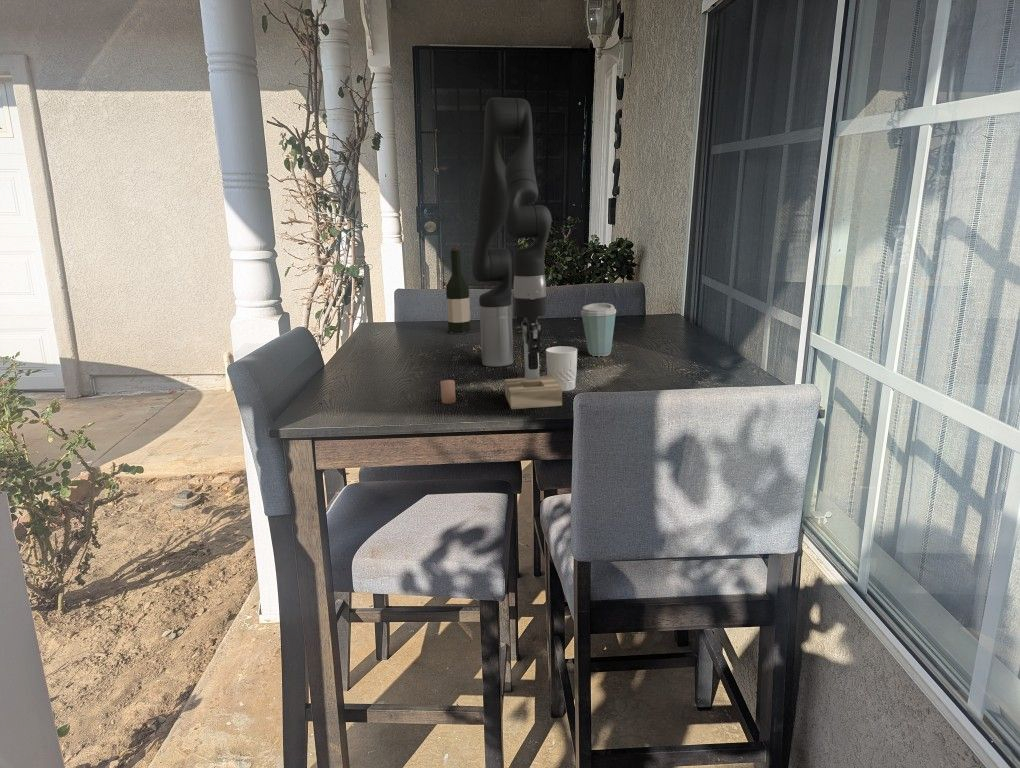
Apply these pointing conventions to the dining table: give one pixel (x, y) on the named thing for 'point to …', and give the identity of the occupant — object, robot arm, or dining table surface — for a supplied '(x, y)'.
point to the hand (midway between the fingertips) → (531, 366)
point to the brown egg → (448, 391)
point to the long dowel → (528, 373)
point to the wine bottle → (458, 297)
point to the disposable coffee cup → (599, 327)
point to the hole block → (533, 392)
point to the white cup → (562, 366)
